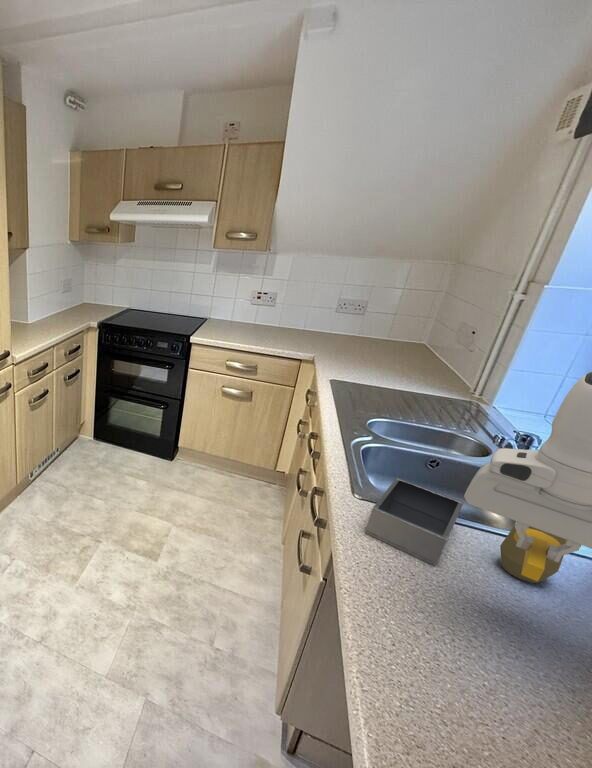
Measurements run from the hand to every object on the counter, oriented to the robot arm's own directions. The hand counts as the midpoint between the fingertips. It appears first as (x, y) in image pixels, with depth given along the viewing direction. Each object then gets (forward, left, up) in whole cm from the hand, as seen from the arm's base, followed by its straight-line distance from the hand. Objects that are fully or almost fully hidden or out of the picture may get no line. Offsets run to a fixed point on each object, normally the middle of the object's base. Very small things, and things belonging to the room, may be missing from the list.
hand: (536, 552), depth 65 cm
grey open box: (+4, -24, -16) cm, 29 cm away
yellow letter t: (-1, -1, -2) cm, 2 cm away
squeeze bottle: (-12, -16, -16) cm, 26 cm away
